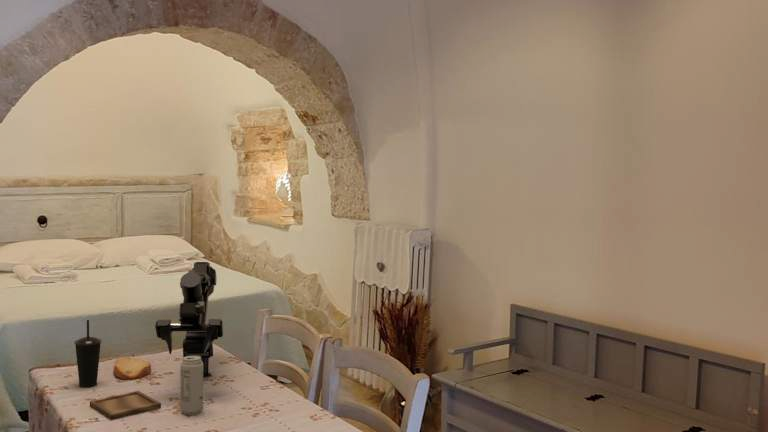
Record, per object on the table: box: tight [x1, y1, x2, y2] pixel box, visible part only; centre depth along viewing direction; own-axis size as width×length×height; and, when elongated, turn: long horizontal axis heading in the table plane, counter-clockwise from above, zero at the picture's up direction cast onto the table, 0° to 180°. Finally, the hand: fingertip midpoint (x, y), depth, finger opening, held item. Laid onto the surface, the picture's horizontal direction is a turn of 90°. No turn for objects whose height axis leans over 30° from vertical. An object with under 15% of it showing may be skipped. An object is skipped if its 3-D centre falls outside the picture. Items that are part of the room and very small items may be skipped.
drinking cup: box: [73, 319, 102, 389], centre depth 211 cm, size 8×8×20 cm
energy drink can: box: [179, 356, 204, 416], centre depth 190 cm, size 6×6×15 cm
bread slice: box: [112, 356, 152, 381], centre depth 228 cm, size 18×18×4 cm
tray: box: [89, 390, 162, 421], centre depth 193 cm, size 14×14×2 cm
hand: (186, 353), depth 198 cm, fingers open, 9 cm apart
